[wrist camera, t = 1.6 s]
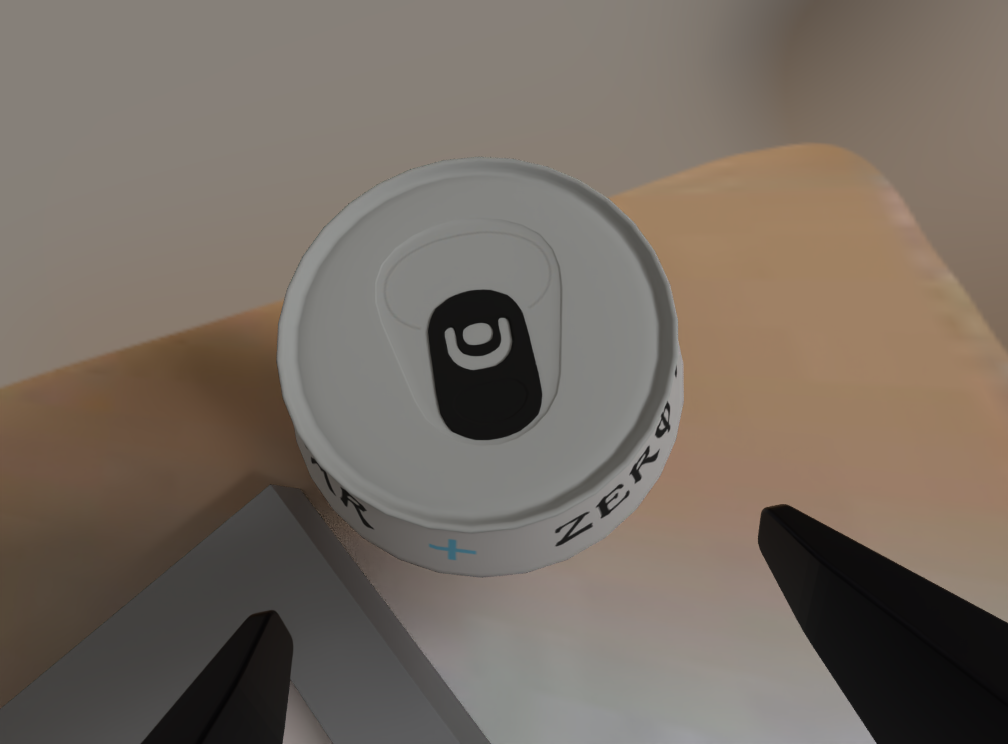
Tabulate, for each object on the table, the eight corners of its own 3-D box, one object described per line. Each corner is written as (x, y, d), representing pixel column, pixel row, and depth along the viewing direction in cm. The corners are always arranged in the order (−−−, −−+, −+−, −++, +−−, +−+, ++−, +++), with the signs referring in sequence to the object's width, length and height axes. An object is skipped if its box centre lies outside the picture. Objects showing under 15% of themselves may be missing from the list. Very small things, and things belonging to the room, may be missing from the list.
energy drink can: (560, 381, 21) (649, 85, 7) (595, 524, 19) (812, 528, 5) (424, 409, 21) (219, 163, 7) (446, 555, 19) (231, 653, 5)
